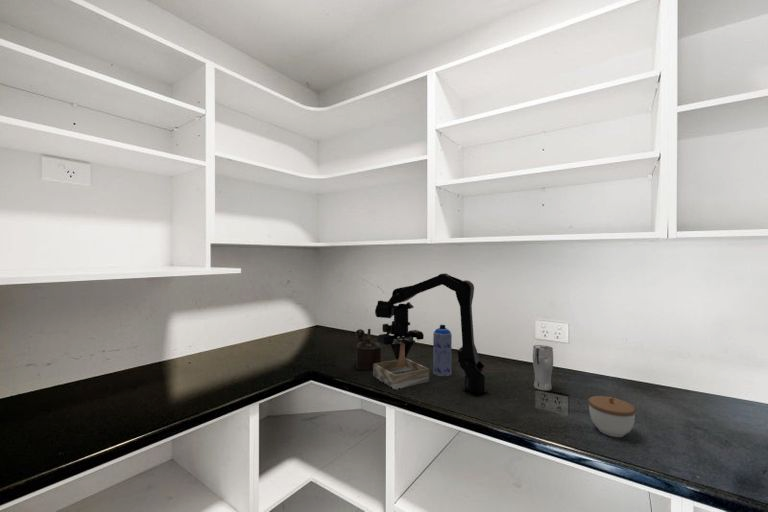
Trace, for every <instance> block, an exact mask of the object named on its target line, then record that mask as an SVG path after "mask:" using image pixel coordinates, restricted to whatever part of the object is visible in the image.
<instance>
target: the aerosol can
mask: <svg viewBox="0 0 768 512" xmlns="http://www.w3.org/2000/svg"><path fill="white" fill-rule="evenodd" d="M432 337H433V338H432V339H433V340H432V341H433V344H432V345H433V348H432V349H433V350H432V352H433V354H432V358H433V359H432V361H433V363H432V365H433V366H432V374H434V375H435V376H439V377H449V375H450V376H452V374H453V373H452V349H453V348H452V340H453V339H452V338H453V337H452V332H451V331H450V330H449V329H448V328H447V327H446V325H445V324H439V327H438V328H436V329H434V332H433V336H432Z"/></svg>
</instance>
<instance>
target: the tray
mask: <svg viewBox="0 0 768 512" xmlns="http://www.w3.org/2000/svg"><path fill="white" fill-rule="evenodd" d="M373 376H374V377H373ZM372 377H373V378H375V377H376V378H375V379H377V380H378V379H379V381H380V382H381V383H383V382H384V385H386V384H387V385H386V386H388V387H390V388H391V387H392V388H391V389H393V390H394V389H395V390H399V388H400V389H404V388H407V387H412V386H417V385H420V384H425V383H429V382H430V368H429V367H426V366H425V365H422V364H420V363H418V362H415V361H413V360H411V359H409V358H407V357H406V358H405V367H403V368H400V367H397V359H393V360H387V361H380V363H375V364H373V370H372Z"/></svg>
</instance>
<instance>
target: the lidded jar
mask: <svg viewBox="0 0 768 512" xmlns="http://www.w3.org/2000/svg"><path fill="white" fill-rule="evenodd" d="M588 410H589V415H590V416H589V417H590V419H591V421H592V422H593V425H595V426H596V428H597V429H598V431H599V432H601V434H604V435H606V436H609V437H614V438H623V437H625V435H627V434H629V433H630V432H631V431H632V429H633V428H634V425H635V421H636V420H635V418H636V407H635V406H634V405H633V404H631V403H630V402H628V401H625V400H624V399H623V400H622V399H618V398H617V397H613V396H605V395H594V396H591V397H589V398H588Z"/></svg>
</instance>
